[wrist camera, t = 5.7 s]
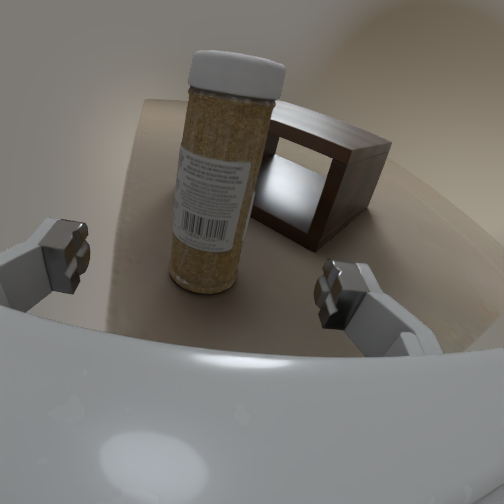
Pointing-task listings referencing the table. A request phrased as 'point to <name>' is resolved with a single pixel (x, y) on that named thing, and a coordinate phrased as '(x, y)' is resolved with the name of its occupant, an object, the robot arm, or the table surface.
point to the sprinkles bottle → (220, 164)
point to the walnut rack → (316, 176)
